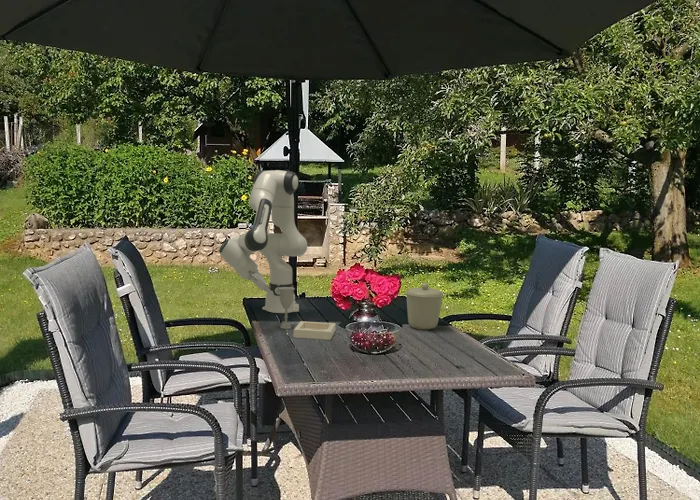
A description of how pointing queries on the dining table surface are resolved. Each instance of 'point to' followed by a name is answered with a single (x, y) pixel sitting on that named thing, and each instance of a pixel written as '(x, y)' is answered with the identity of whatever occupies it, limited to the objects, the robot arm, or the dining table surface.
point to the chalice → (286, 303)
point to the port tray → (314, 330)
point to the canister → (423, 307)
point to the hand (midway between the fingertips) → (269, 291)
